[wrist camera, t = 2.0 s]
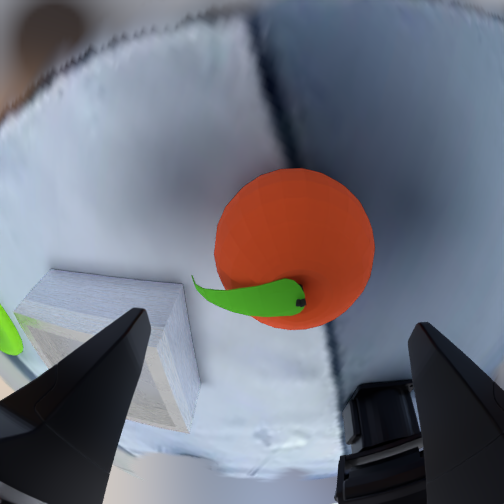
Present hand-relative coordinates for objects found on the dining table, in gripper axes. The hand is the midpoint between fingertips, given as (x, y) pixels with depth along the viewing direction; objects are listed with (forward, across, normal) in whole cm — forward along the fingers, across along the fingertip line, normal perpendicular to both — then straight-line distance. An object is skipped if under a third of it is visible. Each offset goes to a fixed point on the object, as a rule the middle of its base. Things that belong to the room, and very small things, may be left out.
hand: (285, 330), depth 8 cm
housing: (+8, +12, +11) cm, 18 cm away
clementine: (+8, 0, 0) cm, 8 cm away
